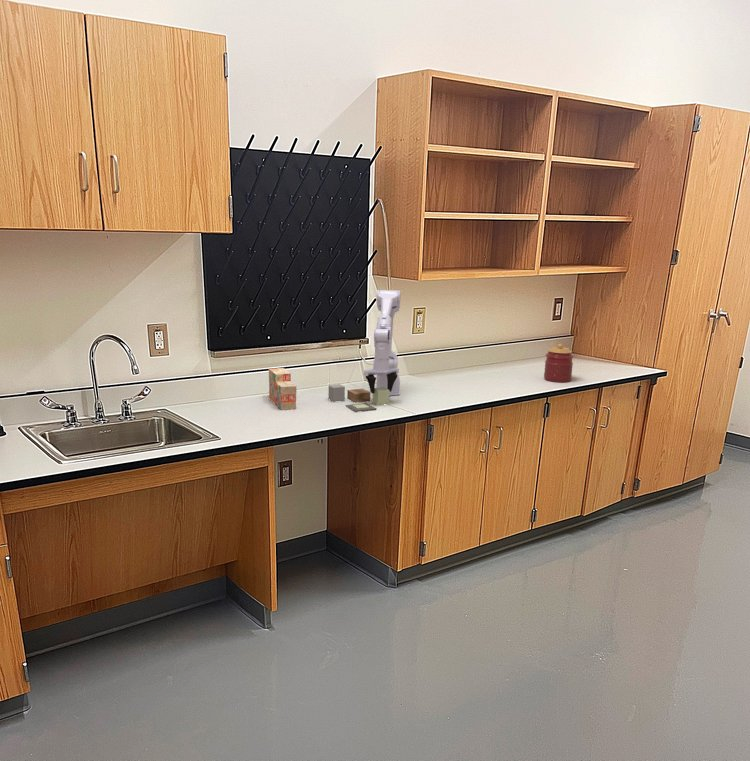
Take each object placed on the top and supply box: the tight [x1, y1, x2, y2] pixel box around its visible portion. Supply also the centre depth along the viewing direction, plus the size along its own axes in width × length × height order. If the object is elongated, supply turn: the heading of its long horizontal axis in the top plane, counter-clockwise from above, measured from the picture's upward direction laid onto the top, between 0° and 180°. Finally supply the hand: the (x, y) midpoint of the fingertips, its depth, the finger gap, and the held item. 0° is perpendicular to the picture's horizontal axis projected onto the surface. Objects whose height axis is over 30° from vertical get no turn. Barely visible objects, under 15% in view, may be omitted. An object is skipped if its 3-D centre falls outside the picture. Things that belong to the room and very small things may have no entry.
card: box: [345, 402, 377, 413], centre depth 265 cm, size 9×9×1 cm
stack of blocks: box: [268, 367, 297, 411], centre depth 269 cm, size 21×6×12 cm, turn 21°
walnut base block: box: [346, 388, 371, 404], centre depth 277 cm, size 7×7×4 cm
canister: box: [543, 343, 574, 383], centre depth 323 cm, size 13×13×18 cm
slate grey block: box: [328, 383, 346, 403], centre depth 276 cm, size 5×5×6 cm
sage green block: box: [371, 387, 390, 406], centre depth 272 cm, size 5×5×6 cm
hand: (381, 392), depth 272 cm, fingers open, 7 cm apart
